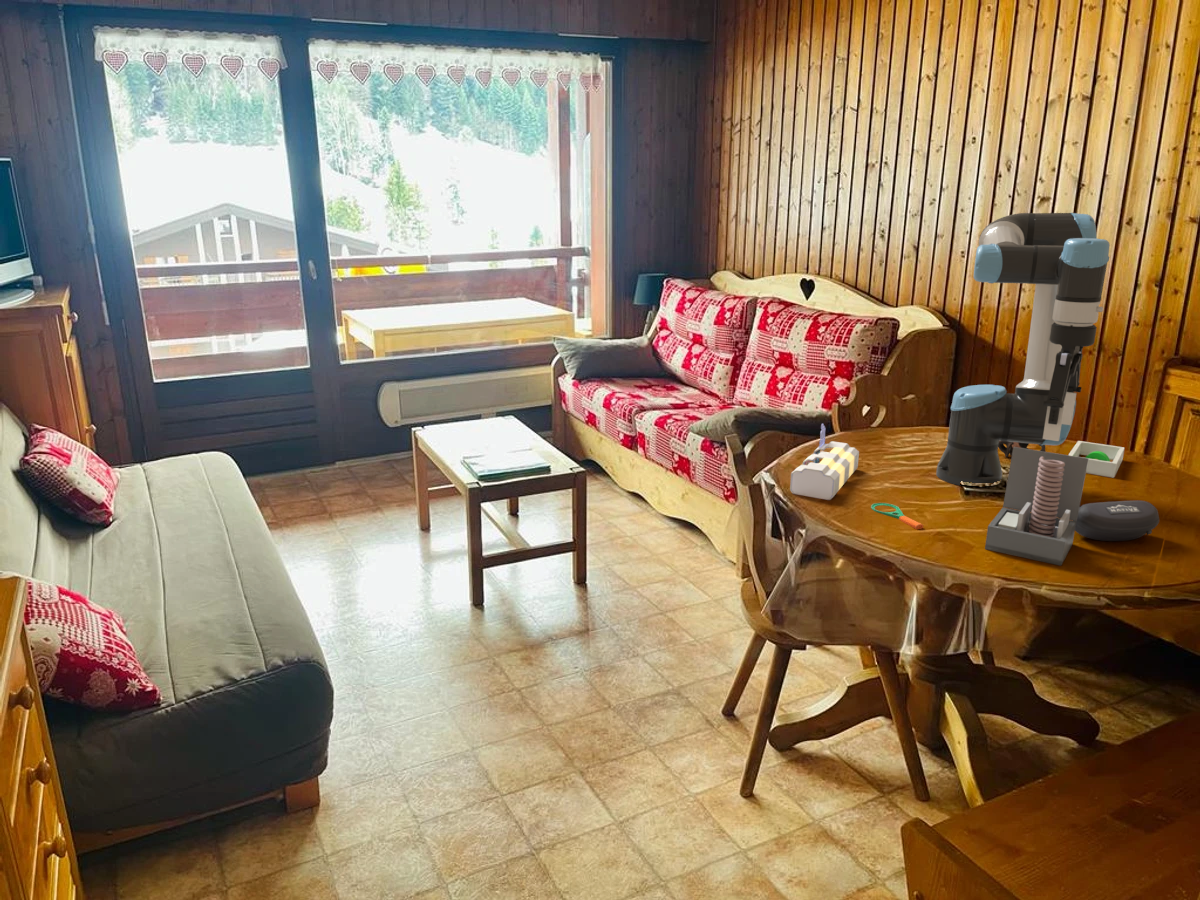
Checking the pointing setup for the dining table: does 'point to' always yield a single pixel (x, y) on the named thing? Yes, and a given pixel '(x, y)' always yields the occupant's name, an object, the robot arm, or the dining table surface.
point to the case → (1013, 525)
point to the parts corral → (1098, 465)
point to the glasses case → (1116, 520)
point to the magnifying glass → (899, 516)
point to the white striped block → (825, 470)
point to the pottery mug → (1014, 444)
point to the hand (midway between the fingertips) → (1057, 431)
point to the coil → (1046, 497)
